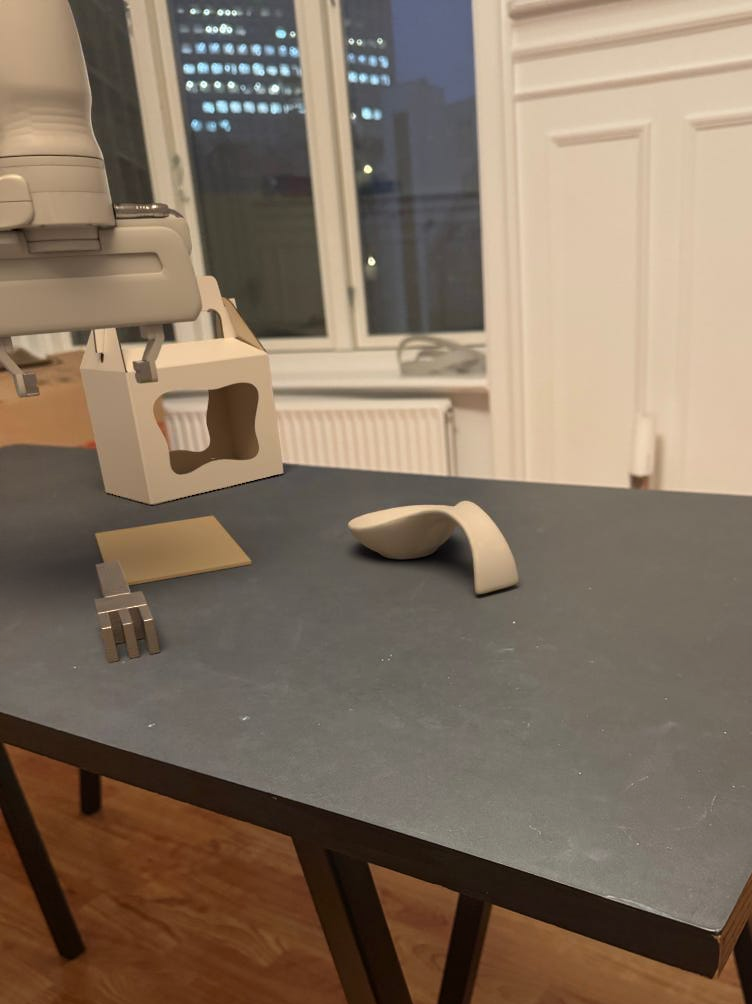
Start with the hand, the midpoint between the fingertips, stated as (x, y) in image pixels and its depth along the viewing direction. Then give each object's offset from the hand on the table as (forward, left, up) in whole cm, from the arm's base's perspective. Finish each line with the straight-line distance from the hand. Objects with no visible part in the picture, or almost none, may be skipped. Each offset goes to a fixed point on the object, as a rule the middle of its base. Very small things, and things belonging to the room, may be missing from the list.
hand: (90, 389), depth 76 cm
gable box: (-26, +49, -20) cm, 59 cm away
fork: (-1, -1, -20) cm, 20 cm away
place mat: (-10, +19, -20) cm, 29 cm away
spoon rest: (+22, +19, -20) cm, 36 cm away
